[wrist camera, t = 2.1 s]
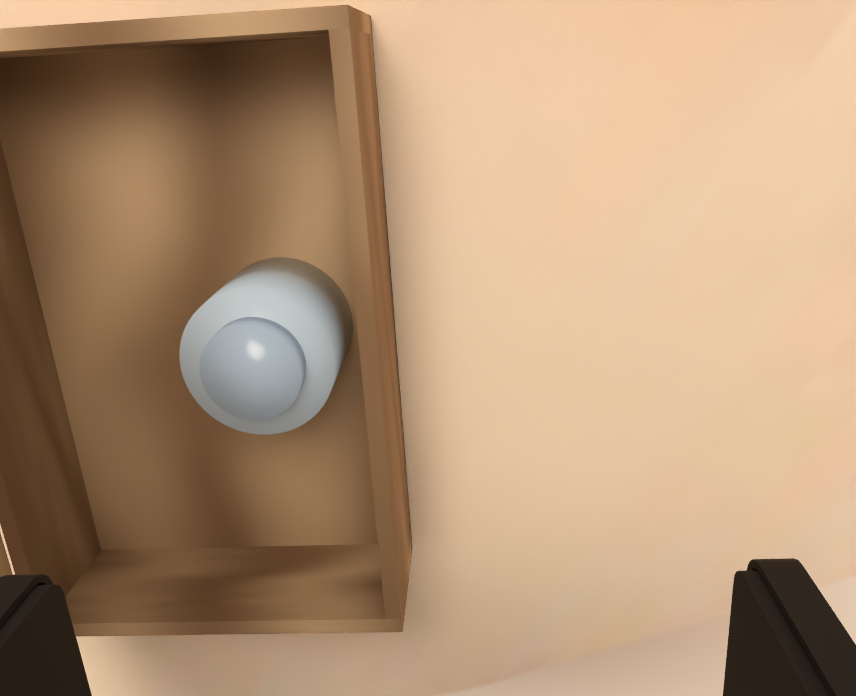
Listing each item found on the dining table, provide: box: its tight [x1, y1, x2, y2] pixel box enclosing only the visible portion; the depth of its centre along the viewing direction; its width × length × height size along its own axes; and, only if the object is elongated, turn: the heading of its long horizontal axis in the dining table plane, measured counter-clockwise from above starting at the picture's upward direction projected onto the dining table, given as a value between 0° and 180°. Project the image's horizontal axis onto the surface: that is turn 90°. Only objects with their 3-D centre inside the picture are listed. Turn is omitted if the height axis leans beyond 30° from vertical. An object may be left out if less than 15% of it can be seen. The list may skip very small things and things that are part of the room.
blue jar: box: [179, 257, 353, 435], centre depth 23 cm, size 4×4×4 cm
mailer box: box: [0, 5, 412, 636], centre depth 23 cm, size 12×18×4 cm, turn 3°
